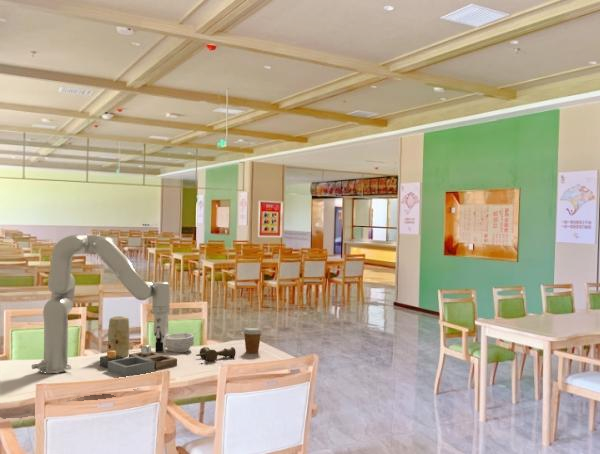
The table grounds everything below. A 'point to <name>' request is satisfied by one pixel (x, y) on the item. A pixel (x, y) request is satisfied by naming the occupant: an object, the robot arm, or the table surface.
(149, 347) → the cylinder
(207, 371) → the table surface
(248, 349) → the disposable coffee cup
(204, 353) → the kendama
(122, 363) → the tray
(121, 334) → the food model
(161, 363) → the brown compartment tray
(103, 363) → the button housing
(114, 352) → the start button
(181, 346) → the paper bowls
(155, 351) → the cylinder
